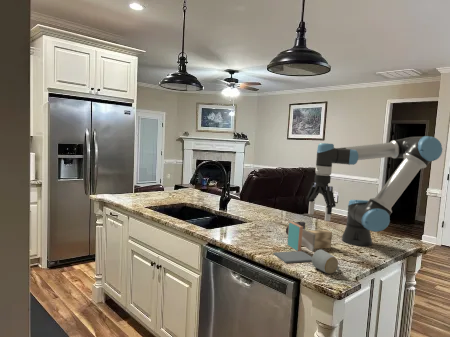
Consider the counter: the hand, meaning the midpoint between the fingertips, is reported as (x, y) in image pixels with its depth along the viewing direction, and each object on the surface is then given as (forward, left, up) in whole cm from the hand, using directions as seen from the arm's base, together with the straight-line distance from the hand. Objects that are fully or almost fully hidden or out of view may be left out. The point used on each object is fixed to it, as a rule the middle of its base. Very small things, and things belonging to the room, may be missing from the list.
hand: (318, 217), depth 161 cm
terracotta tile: (+13, 0, -15) cm, 20 cm away
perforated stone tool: (-1, -22, -15) cm, 27 cm away
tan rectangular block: (-1, 0, -15) cm, 15 cm away
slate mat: (+20, +12, -15) cm, 28 cm away
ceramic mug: (+14, +27, -15) cm, 34 cm away
